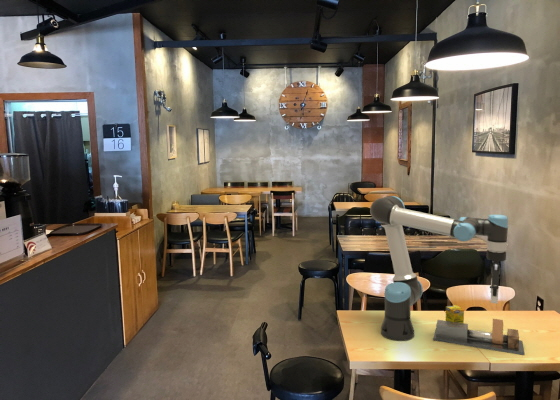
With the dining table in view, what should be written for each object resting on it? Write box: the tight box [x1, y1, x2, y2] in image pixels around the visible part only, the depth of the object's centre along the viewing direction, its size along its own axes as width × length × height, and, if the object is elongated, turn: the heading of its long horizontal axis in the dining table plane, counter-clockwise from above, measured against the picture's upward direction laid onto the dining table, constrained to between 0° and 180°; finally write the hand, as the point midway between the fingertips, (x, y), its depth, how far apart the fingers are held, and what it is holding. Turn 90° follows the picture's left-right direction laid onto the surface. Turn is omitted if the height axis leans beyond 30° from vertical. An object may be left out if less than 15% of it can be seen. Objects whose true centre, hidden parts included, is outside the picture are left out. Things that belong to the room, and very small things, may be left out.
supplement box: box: [445, 304, 465, 323], centre depth 201 cm, size 6×6×11 cm
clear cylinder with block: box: [467, 318, 508, 345], centre depth 186 cm, size 20×4×10 cm, turn 64°
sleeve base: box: [432, 319, 525, 356], centre depth 188 cm, size 36×12×6 cm, turn 64°
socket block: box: [506, 328, 520, 349], centre depth 182 cm, size 4×8×6 cm, turn 154°
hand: (493, 297), depth 184 cm, fingers open, 13 cm apart
